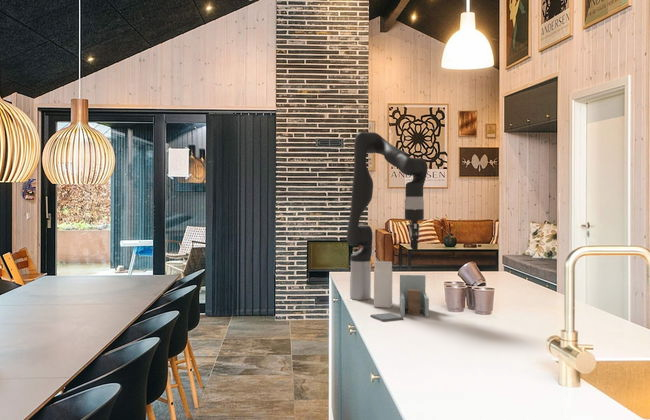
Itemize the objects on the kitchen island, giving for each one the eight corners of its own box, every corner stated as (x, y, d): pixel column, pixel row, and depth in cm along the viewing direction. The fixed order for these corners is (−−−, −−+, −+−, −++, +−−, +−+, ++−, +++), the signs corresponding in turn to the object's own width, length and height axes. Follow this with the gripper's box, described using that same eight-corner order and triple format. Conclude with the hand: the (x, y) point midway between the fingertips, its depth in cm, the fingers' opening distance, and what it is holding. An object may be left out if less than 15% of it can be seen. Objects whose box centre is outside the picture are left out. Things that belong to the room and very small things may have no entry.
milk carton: (390, 308, 236) (391, 262, 235) (373, 307, 237) (374, 262, 237) (392, 304, 243) (392, 260, 242) (375, 304, 244) (375, 260, 244)
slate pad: (370, 316, 218) (370, 314, 218) (390, 314, 222) (390, 312, 222) (382, 321, 210) (382, 319, 210) (403, 319, 214) (403, 317, 214)
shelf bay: (399, 308, 235) (399, 274, 235) (424, 308, 234) (425, 275, 234) (401, 316, 219) (401, 280, 219) (428, 317, 218) (428, 280, 218)
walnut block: (407, 311, 229) (407, 289, 228) (419, 311, 228) (419, 289, 228) (408, 313, 224) (408, 291, 224) (419, 314, 224) (420, 291, 223)
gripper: (403, 207, 233) (403, 247, 233) (405, 208, 218) (405, 250, 219) (422, 207, 232) (422, 247, 232) (425, 208, 218) (425, 250, 218)
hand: (414, 248), depth 226 cm, fingers open, 8 cm apart
